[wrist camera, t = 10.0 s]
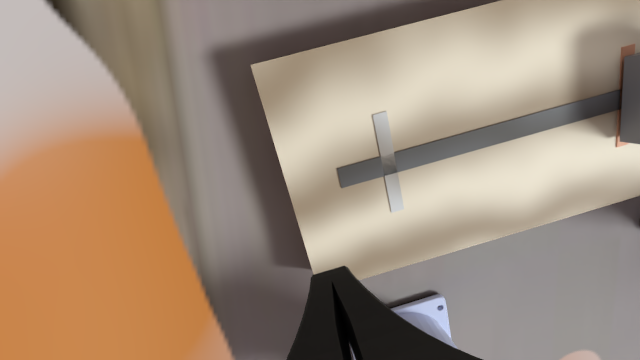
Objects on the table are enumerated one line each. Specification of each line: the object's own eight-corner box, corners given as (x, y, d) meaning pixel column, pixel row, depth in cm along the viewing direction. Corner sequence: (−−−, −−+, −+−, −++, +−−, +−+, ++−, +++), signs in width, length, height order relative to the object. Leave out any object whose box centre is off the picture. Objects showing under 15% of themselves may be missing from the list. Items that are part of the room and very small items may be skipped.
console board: (642, 172, 23) (686, 182, 20) (314, 270, 22) (319, 292, 19) (660, -37, 19) (717, -56, 16) (254, 68, 17) (250, 64, 15)
